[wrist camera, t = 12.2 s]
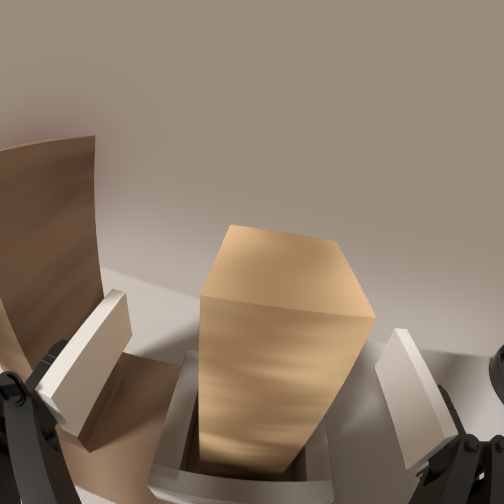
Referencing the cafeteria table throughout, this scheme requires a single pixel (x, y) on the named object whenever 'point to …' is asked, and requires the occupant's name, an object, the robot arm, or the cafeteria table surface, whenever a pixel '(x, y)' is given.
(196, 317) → the cafeteria table surface
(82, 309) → the wooden peg insertion stand
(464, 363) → the cafeteria table surface
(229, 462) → the block
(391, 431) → the cafeteria table surface
